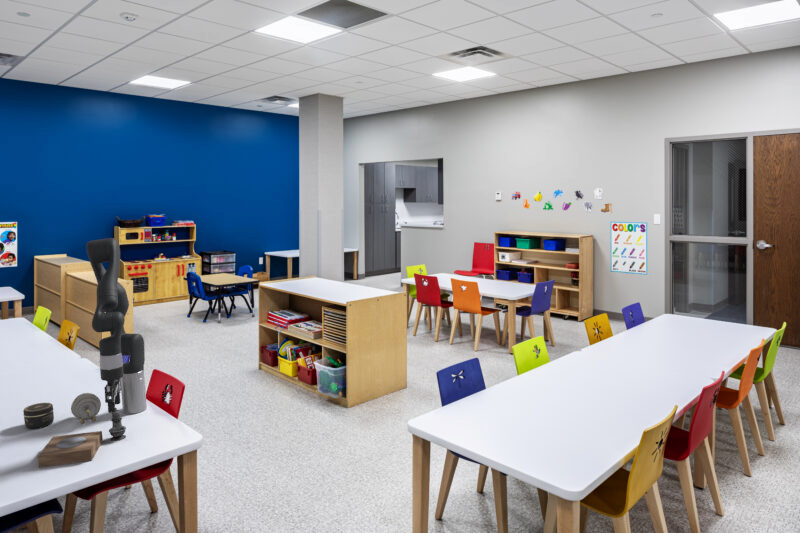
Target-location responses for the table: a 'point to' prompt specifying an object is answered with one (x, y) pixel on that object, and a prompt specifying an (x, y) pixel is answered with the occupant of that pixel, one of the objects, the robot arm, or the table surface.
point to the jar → (38, 415)
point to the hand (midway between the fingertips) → (114, 408)
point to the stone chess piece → (117, 427)
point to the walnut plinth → (70, 449)
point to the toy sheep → (86, 407)
